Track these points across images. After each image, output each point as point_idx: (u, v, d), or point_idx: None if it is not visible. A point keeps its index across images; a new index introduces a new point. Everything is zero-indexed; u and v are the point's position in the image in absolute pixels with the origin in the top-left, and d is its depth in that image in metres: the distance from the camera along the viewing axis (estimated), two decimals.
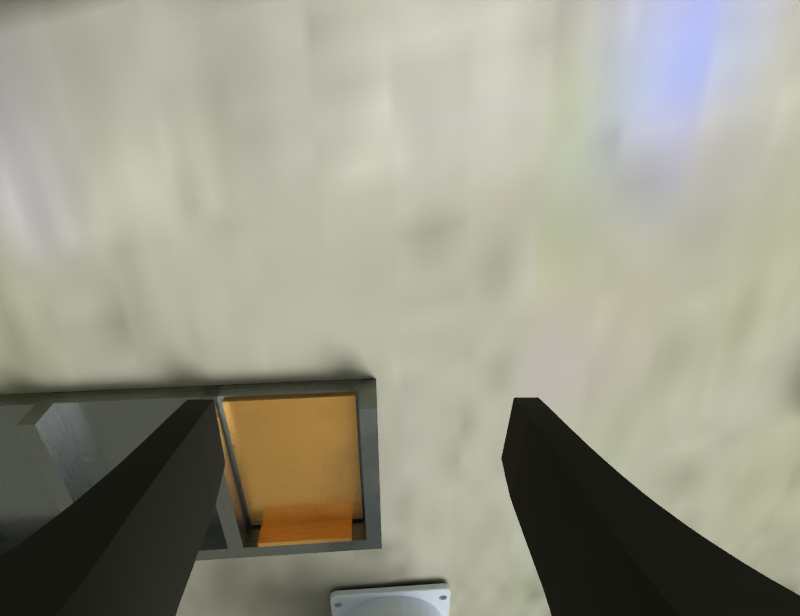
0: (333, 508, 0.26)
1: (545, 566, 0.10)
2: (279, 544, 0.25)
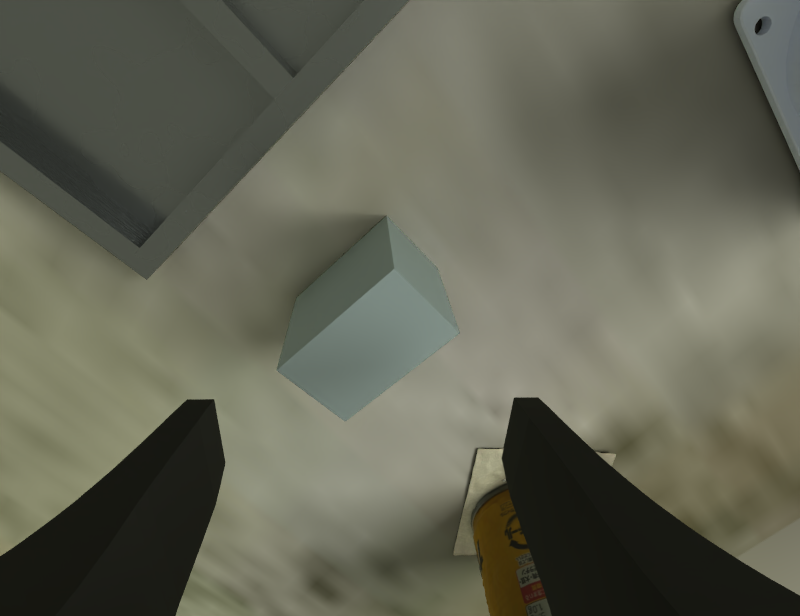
0: None
1: (545, 566, 0.10)
2: None
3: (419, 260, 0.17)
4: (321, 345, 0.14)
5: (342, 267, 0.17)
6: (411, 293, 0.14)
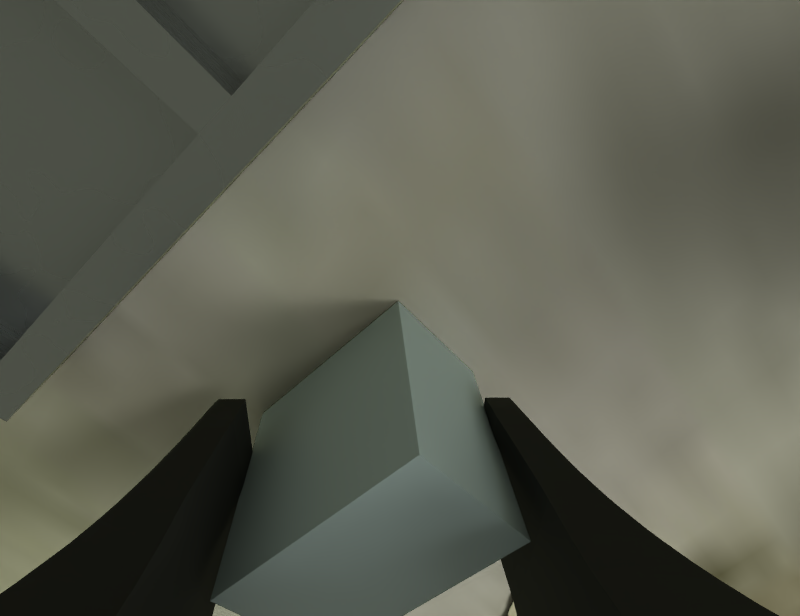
0: None
1: (512, 567, 0.10)
2: None
3: (450, 378, 0.11)
4: (287, 566, 0.08)
5: (329, 386, 0.11)
6: (448, 490, 0.07)
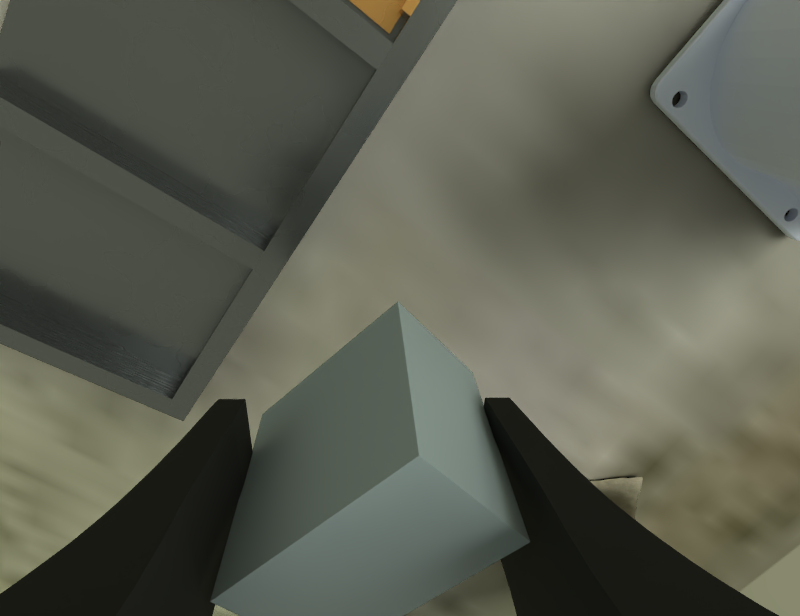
0: None
1: (512, 567, 0.10)
2: None
3: (450, 379, 0.11)
4: (286, 567, 0.08)
5: (329, 387, 0.11)
6: (448, 491, 0.07)
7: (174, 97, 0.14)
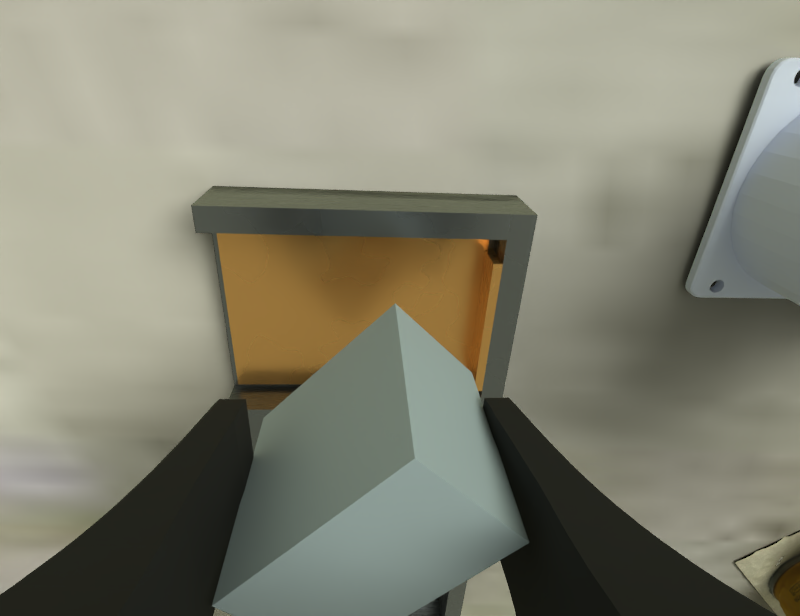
0: (455, 276, 0.16)
1: (511, 567, 0.10)
2: (482, 365, 0.16)
3: (448, 380, 0.11)
4: (286, 571, 0.08)
5: (327, 390, 0.11)
6: (445, 493, 0.07)
7: None
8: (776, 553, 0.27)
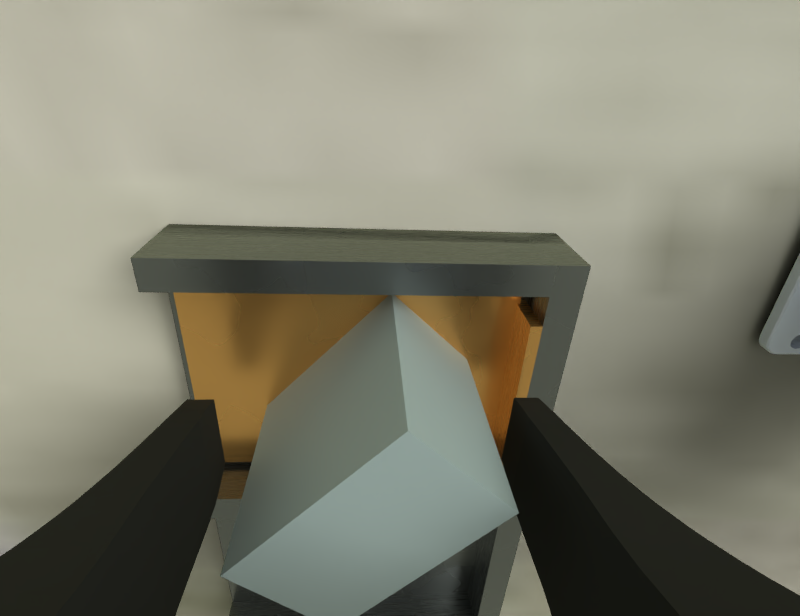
0: (478, 334, 0.13)
1: (545, 566, 0.10)
2: None
3: (443, 364, 0.11)
4: (290, 542, 0.09)
5: (328, 376, 0.11)
6: (437, 465, 0.08)
7: None
8: None
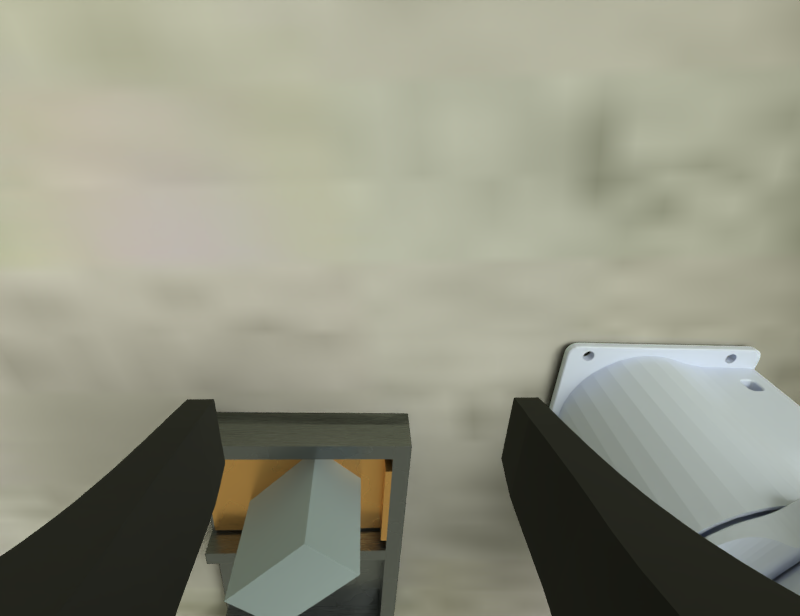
0: (365, 467, 0.23)
1: (545, 566, 0.10)
2: (385, 526, 0.24)
3: (339, 491, 0.22)
4: (256, 586, 0.19)
5: (280, 494, 0.22)
6: (319, 556, 0.19)
7: None
8: None
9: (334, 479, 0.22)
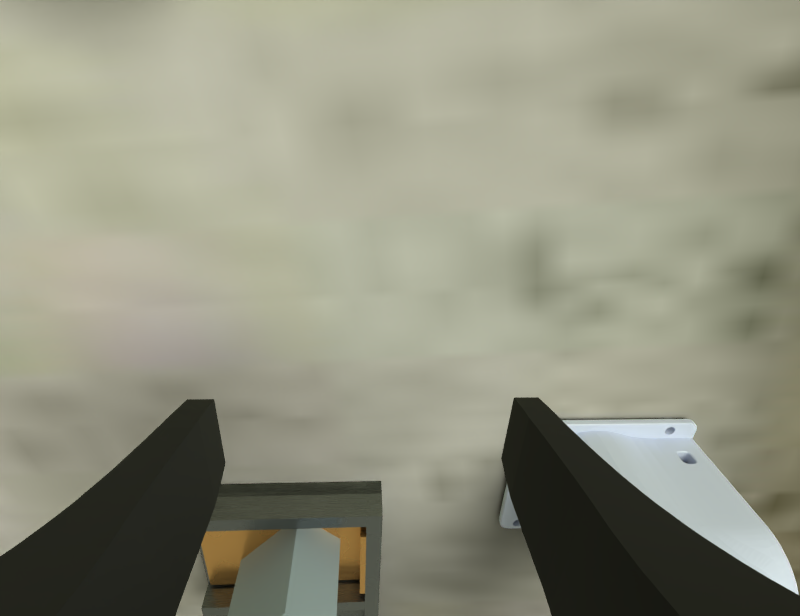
0: (344, 529, 0.26)
1: (545, 566, 0.10)
2: (363, 581, 0.26)
3: (319, 555, 0.24)
4: None
5: (267, 558, 0.25)
6: None
7: None
8: None
9: (314, 544, 0.25)
